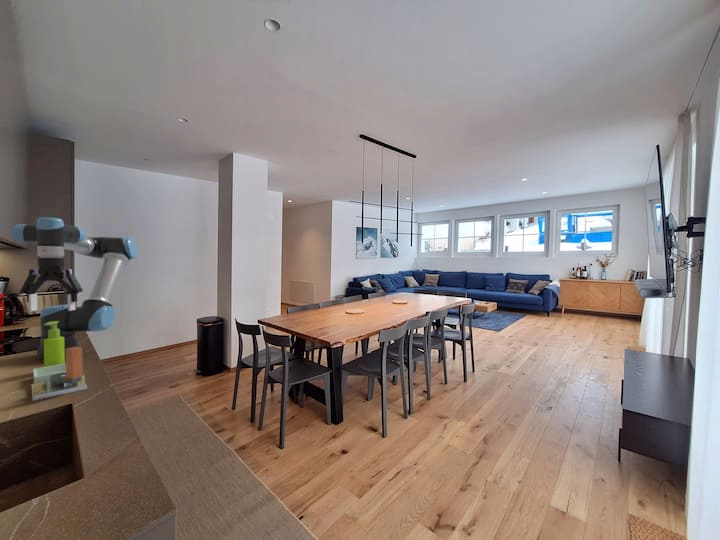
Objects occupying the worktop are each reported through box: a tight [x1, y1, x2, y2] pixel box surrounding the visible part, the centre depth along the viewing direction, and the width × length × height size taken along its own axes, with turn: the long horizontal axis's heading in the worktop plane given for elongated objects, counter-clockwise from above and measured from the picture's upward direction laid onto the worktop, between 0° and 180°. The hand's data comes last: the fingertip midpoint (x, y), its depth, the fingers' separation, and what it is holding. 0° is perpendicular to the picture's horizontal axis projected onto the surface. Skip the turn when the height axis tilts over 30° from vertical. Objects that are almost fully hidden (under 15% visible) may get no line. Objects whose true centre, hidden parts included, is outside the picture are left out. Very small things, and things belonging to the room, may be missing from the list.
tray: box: [32, 362, 66, 384], centre depth 117 cm, size 12×12×4 cm
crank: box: [50, 346, 84, 386], centre depth 107 cm, size 11×4×13 cm, turn 78°
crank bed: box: [31, 374, 88, 402], centre depth 107 cm, size 14×13×4 cm
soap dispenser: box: [43, 321, 66, 367], centre depth 123 cm, size 6×7×20 cm
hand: (52, 310), depth 123 cm, fingers open, 13 cm apart
